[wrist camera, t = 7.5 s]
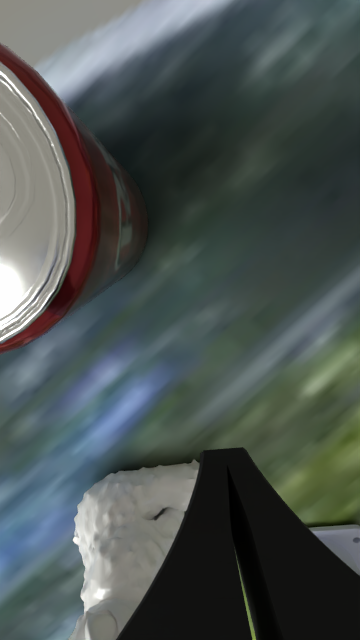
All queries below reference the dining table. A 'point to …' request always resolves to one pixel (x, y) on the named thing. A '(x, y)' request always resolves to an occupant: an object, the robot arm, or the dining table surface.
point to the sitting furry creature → (127, 541)
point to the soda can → (57, 209)
